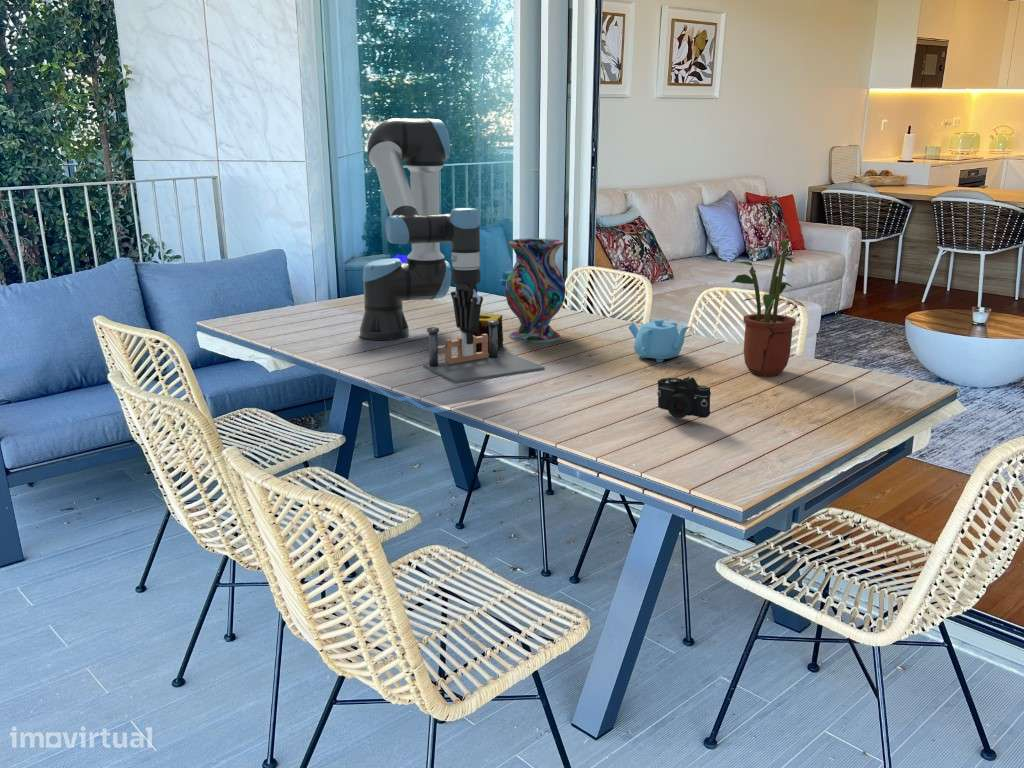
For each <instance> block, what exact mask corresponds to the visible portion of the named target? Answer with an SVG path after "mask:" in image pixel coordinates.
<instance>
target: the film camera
mask: <svg viewBox="0 0 1024 768" xmlns="http://www.w3.org/2000/svg"><path fill="white" fill-rule="evenodd" d="M711 394H712V393H711V387H709V386H707V385H703V384H702V385H699V384H698V383H697V381H696V379H695V377H693V376H691V377H690V376H689V375H688V376H686V377H684V378H679V377H669V378H668V377H665V378H664V377H663V378H660V379H659V380H658V381H657V391H656V395H657V398H658V399H657V407H658V408H659V409H661V410H665V411H667V412H668V413H669V415H671V417H674V418H675V419H683V418H685V417H688V416H689V417H690V416H693V417H697V418H701V419H704V418H705V419H707V418H708V417H710V415H711Z"/></svg>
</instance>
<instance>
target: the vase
mask: <svg viewBox="0 0 1024 768" xmlns="http://www.w3.org/2000/svg"><path fill="white" fill-rule="evenodd" d="M563 244H564V241H562V240H560V239H555V238H541V237H540V238H537V237H536V238H531V237H530V238H517V239H516V238H515V239H511V240H509V241H508V245H509V246H510V247H511V248H512V250H513V251H514V253H515V260H516V261H515V262H514V263H515V264H514V266H513V267H512V269H511V271H510V272H509V274H508V276H507V278H506V283H505V290H504V291H505V299H506V302H507V306H509V307H508V308H509V309H510V310H511V312H512V313H513V314H514V315H515V316H516V317H517V318H518V321H519V323H520V325H519V326H518V328H516V329H515V330H514V331H512V332H511V333H510V334H509V335H508V338H509V339H510V340H513V341H516V342H521V343H529V344H530V343H532V344H541V343H542V344H543V343H549V342H554V341H558V340H559V339H560V338H561V337H562V336H561V334H560V333H558V332H557V331H556V330H554V329H553V328H552V327H551V325H550V323H551V321H552V319H553V318H554V317H555V316H556V315H557V314H558V312H559V311H560V309H562V306H563V304H564V301H565V297H566V296H565V295H566V285H565V279H564V276H563V275H562V272H561V270H559V267H558V265H557V263H556V254H557V252H558V250H559V249H560V248H561V247H562V245H563Z"/></svg>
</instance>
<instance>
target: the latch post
mask: <svg viewBox="0 0 1024 768" xmlns="http://www.w3.org/2000/svg"><path fill="white" fill-rule="evenodd" d="M439 332H440V328H439V327H435V326H434V327H433V326H431V327H428V328H426V333H428V361H429V362H428V364H429V366H431V367H436V366H438V362H439V355H445V344H444V345H439V344H438V343H439V339H438V338H439V336H438V333H439Z"/></svg>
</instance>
